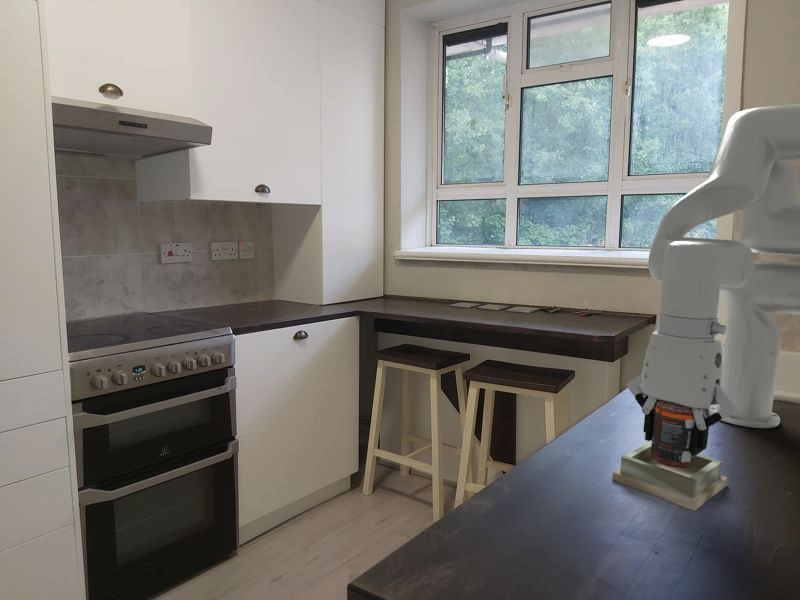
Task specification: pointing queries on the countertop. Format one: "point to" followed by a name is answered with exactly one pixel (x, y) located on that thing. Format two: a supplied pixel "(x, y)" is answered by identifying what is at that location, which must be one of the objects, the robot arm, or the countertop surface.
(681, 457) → the supplement bottle
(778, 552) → the countertop surface
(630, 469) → the socket board
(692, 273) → the robot arm
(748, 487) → the countertop surface
